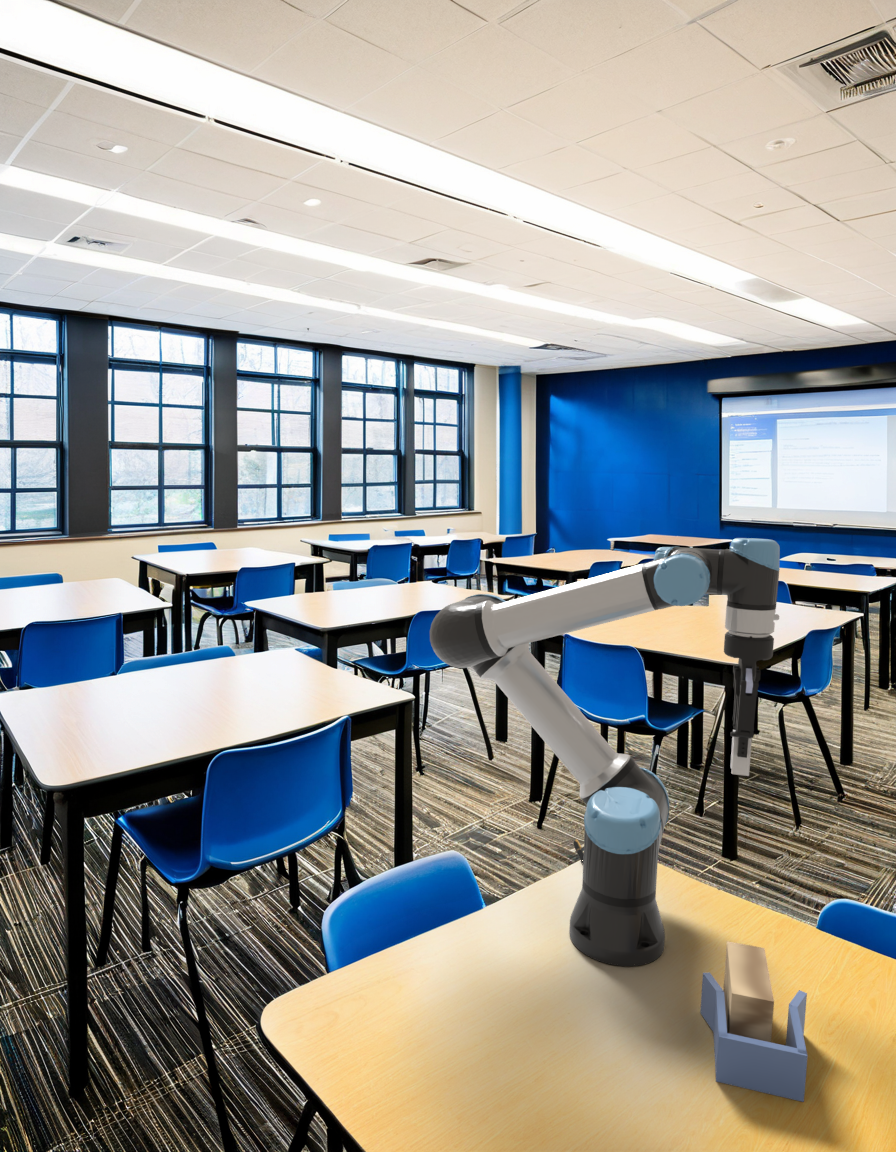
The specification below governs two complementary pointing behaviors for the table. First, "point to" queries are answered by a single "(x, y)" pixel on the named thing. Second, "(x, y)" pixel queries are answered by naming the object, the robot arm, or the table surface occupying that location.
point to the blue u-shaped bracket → (757, 1049)
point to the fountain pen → (578, 849)
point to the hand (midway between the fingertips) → (739, 771)
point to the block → (748, 992)
